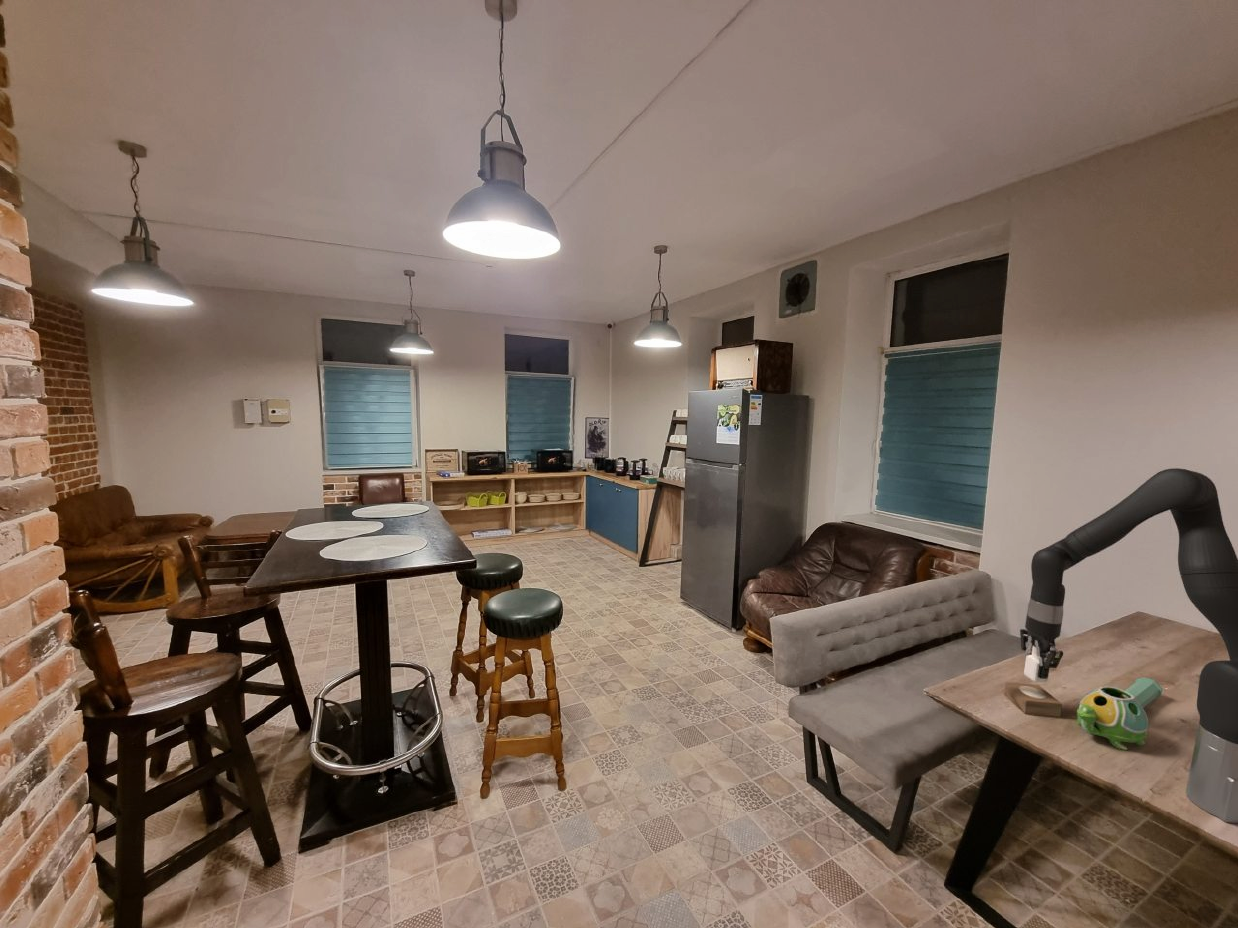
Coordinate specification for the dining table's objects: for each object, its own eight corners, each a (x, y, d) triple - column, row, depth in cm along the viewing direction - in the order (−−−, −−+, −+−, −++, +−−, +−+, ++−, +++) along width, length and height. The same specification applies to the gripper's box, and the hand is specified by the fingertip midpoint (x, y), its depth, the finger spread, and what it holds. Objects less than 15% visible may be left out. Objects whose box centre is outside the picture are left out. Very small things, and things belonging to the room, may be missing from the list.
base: (1060, 716, 136) (1062, 703, 135) (1024, 713, 137) (1026, 699, 136) (1036, 697, 145) (1038, 684, 144) (1003, 694, 146) (1005, 681, 145)
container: (1126, 703, 133) (1158, 678, 145) (1098, 700, 138) (1131, 675, 150) (1135, 726, 132) (1166, 699, 144) (1106, 722, 137) (1139, 696, 149)
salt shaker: (1035, 674, 142) (1040, 644, 140) (1048, 682, 138) (1053, 651, 137) (1022, 674, 142) (1027, 644, 140) (1034, 682, 138) (1039, 651, 136)
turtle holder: (1050, 724, 133) (1056, 683, 131) (1102, 716, 137) (1108, 676, 135) (1103, 756, 121) (1110, 712, 119) (1158, 747, 125) (1166, 704, 123)
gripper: (1079, 629, 130) (1069, 689, 132) (1040, 606, 144) (1033, 660, 146) (1048, 627, 131) (1039, 686, 133) (1012, 604, 145) (1005, 658, 147)
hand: (1036, 672), depth 140 cm, fingers closed on salt shaker, 4 cm apart
